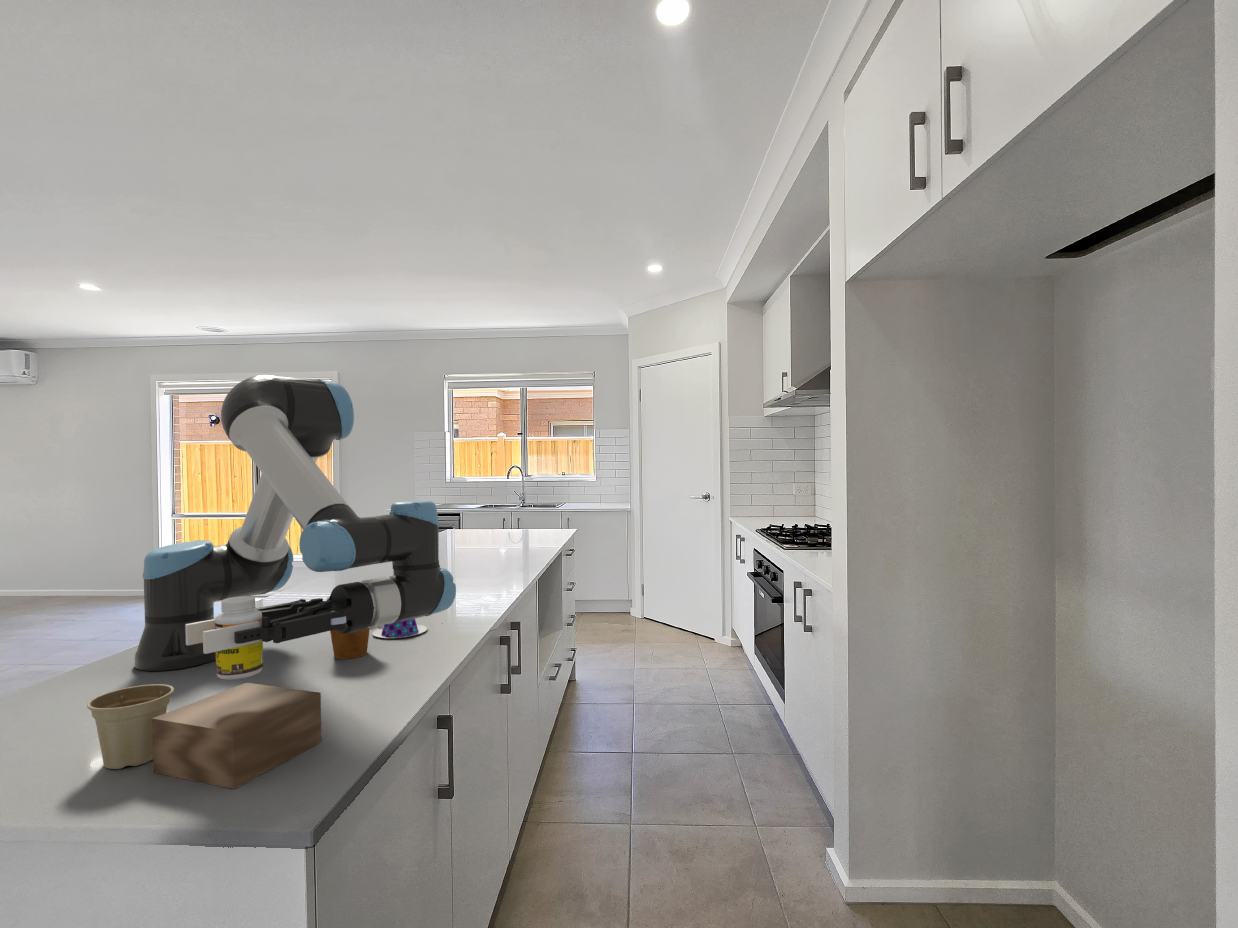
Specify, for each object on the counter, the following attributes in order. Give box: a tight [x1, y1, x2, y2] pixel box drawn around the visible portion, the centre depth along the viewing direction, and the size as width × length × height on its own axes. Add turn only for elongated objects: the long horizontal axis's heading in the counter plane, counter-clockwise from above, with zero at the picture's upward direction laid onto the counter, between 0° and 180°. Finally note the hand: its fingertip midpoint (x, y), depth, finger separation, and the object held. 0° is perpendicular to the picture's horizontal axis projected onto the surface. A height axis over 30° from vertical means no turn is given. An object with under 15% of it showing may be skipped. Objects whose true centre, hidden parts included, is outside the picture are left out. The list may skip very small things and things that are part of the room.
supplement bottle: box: [214, 596, 264, 681], centre depth 89 cm, size 6×6×10 cm
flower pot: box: [86, 683, 175, 770], centre depth 89 cm, size 9×9×9 cm
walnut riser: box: [152, 682, 323, 790], centre depth 89 cm, size 14×14×7 cm
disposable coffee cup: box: [325, 595, 371, 660], centre depth 135 cm, size 10×10×12 cm
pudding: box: [371, 618, 428, 639], centre depth 151 cm, size 12×12×5 cm
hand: (195, 638), depth 85 cm, fingers closed on supplement bottle, 5 cm apart
